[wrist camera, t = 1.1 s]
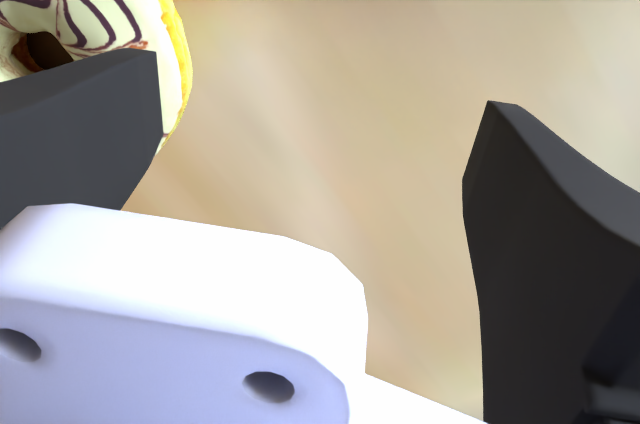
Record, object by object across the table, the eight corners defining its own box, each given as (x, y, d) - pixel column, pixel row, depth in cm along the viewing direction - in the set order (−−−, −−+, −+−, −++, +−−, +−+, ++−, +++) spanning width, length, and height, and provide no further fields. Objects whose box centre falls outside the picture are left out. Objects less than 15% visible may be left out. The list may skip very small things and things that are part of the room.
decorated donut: (-124, -68, 20) (-212, -56, 17) (138, -145, 19) (94, -148, 15) (17, 172, 26) (-30, 215, 23) (232, 130, 24) (213, 170, 21)
